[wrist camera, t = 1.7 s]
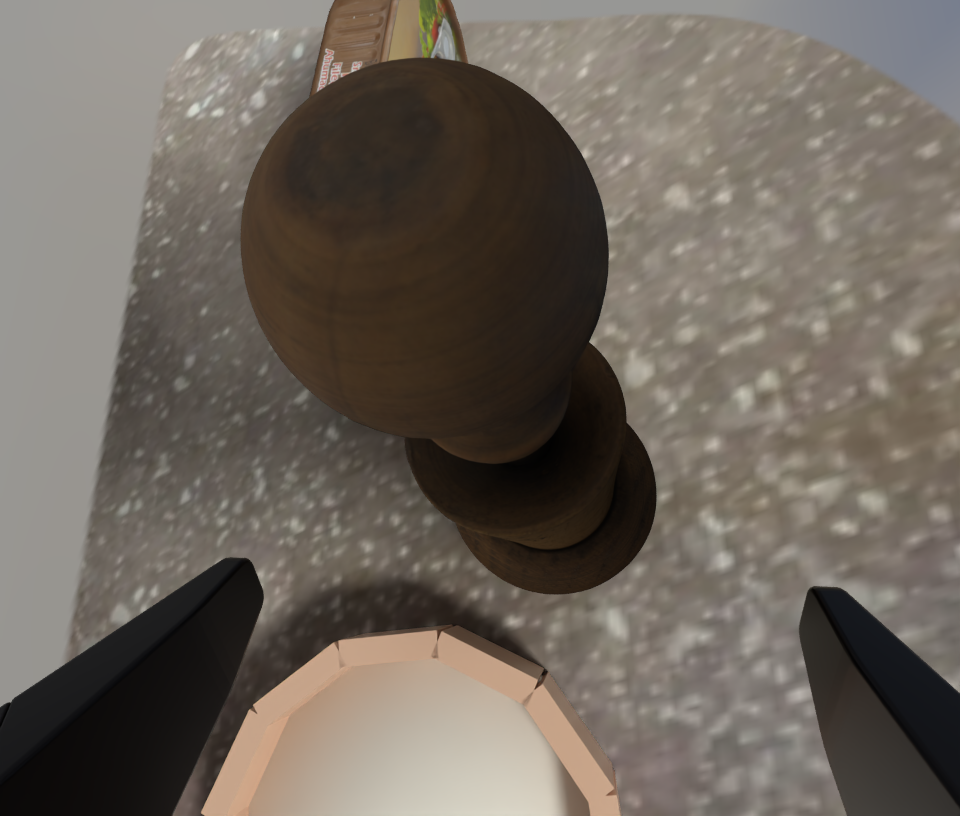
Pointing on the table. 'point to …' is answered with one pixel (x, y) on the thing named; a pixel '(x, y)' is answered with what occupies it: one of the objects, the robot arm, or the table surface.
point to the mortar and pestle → (456, 308)
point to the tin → (385, 35)
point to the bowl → (415, 736)
